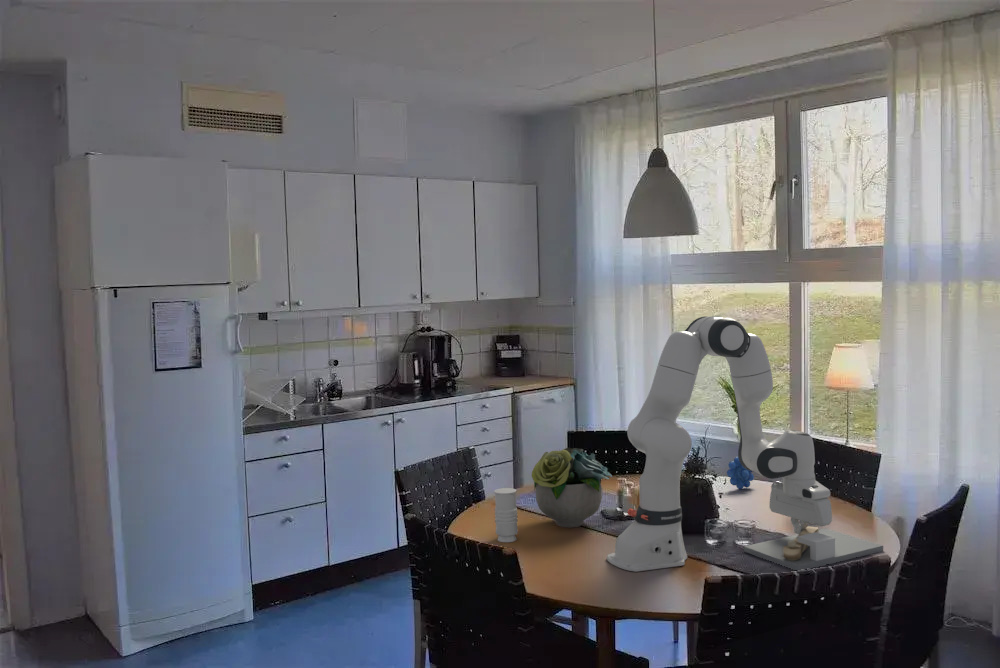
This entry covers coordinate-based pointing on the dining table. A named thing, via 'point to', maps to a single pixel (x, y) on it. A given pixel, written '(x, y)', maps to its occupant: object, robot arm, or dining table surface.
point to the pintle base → (805, 562)
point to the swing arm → (798, 545)
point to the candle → (506, 514)
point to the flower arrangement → (568, 485)
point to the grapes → (739, 474)
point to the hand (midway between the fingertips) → (799, 533)
